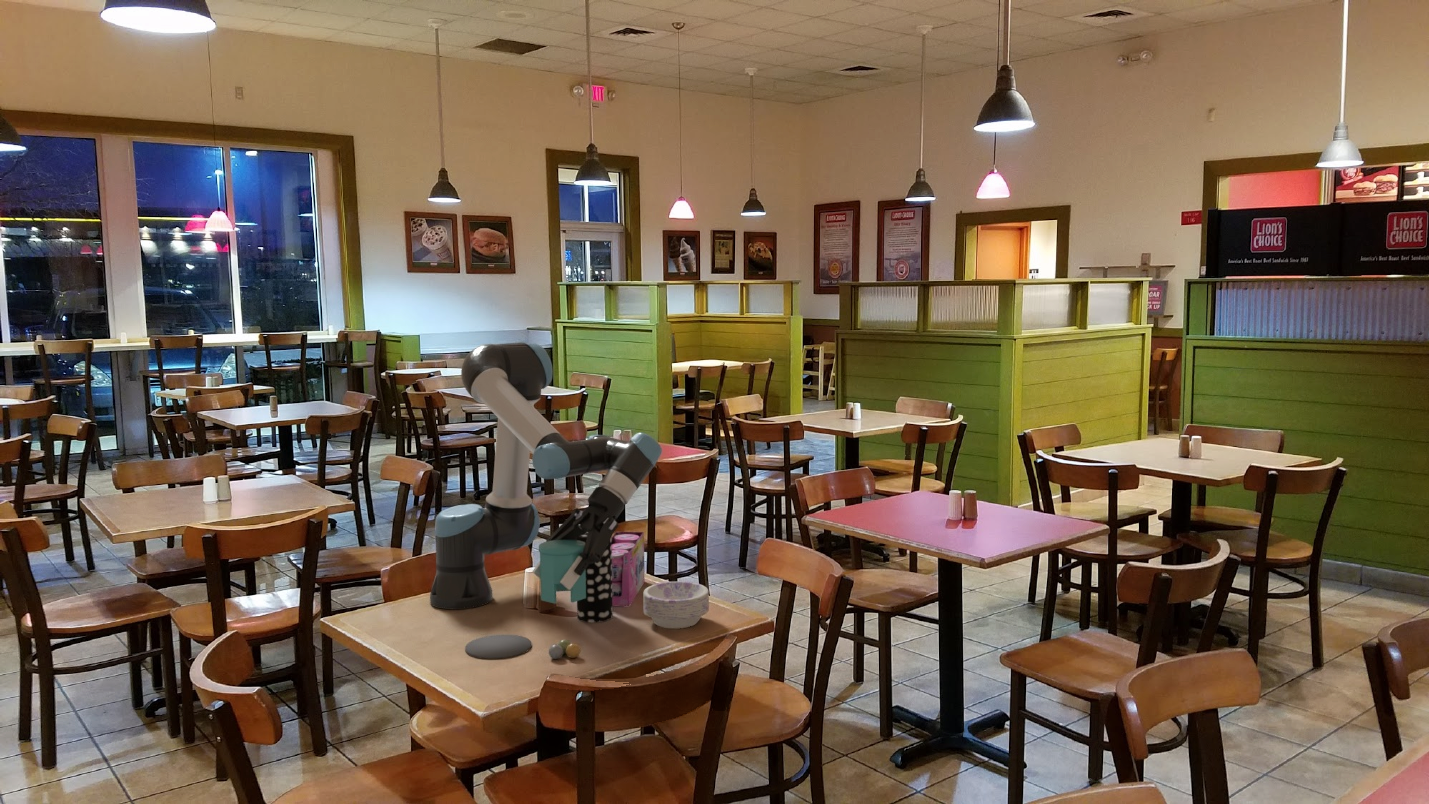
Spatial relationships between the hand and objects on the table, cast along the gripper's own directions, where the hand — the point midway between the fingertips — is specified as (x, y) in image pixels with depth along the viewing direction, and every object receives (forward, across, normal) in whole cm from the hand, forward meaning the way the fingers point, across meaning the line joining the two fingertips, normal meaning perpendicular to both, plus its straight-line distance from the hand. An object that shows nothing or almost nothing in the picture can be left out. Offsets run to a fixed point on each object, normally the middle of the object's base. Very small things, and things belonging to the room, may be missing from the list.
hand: (550, 580), depth 213 cm
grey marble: (+11, 0, -13) cm, 17 cm away
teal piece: (+1, 0, -5) cm, 5 cm away
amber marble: (+9, -2, -15) cm, 18 cm away
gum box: (-16, +29, -41) cm, 53 cm away
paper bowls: (-13, +2, -37) cm, 39 cm away
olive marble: (+9, +2, -15) cm, 17 cm away
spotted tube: (-4, +18, -29) cm, 34 cm away
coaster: (+15, +14, -9) cm, 23 cm away
